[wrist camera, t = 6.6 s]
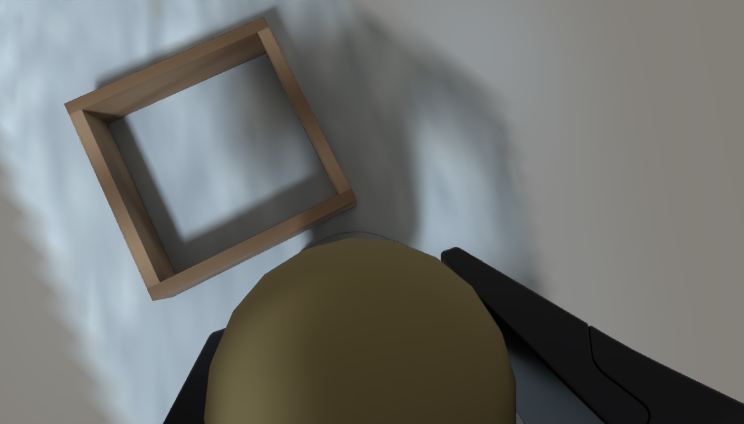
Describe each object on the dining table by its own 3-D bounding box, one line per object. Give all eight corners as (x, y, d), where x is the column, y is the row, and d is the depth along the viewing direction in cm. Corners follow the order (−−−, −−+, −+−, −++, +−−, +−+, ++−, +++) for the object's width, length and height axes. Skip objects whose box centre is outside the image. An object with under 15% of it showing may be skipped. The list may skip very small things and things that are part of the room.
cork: (364, 213, 17) (382, 117, 6) (463, 325, 17) (672, 436, 6) (250, 313, 16) (39, 407, 5) (351, 432, 16) (342, 798, 5)
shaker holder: (356, 205, 21) (356, 199, 19) (172, 296, 20) (152, 300, 18) (271, 38, 22) (263, 16, 20) (91, 118, 21) (64, 103, 19)
